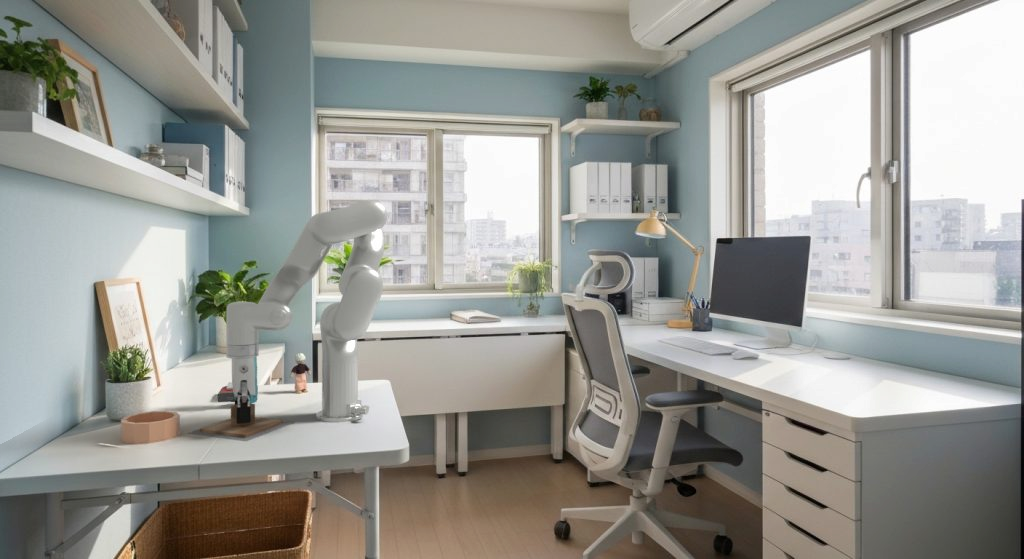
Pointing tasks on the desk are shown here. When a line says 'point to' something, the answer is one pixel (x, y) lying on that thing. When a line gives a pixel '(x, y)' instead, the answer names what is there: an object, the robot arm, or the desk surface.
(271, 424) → the lid
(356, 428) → the desk surface
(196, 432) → the mat
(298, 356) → the grandmother figurine
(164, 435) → the bowl
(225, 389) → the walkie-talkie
